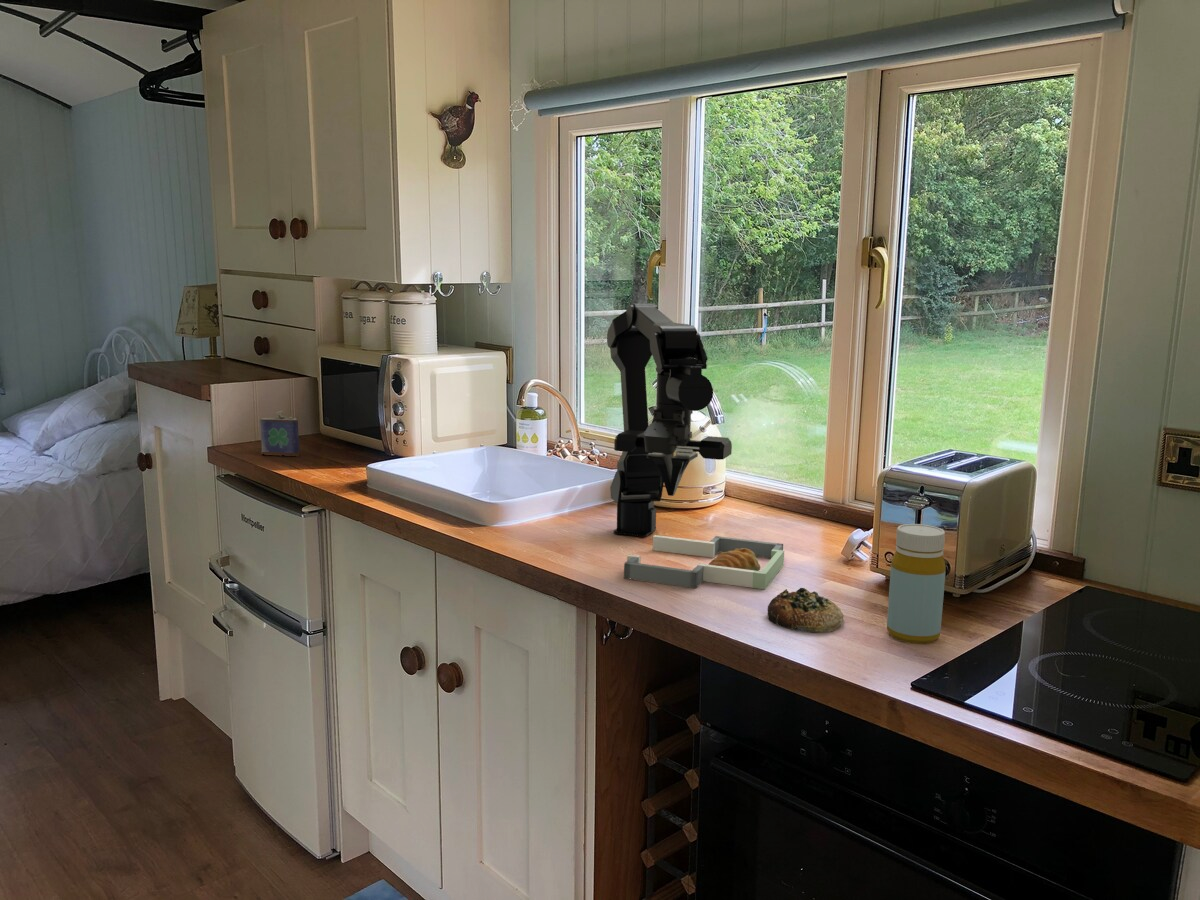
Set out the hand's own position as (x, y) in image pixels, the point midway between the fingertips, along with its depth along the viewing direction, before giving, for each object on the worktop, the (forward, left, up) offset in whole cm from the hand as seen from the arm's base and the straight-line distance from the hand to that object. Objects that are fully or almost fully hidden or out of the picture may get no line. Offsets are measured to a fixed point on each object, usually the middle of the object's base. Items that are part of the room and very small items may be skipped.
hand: (671, 495), depth 165 cm
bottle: (+41, -18, -12) cm, 46 cm away
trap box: (+6, 0, -12) cm, 13 cm away
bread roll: (+26, -17, -12) cm, 34 cm away
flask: (-120, +47, -12) cm, 130 cm away
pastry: (+11, -1, -12) cm, 17 cm away
